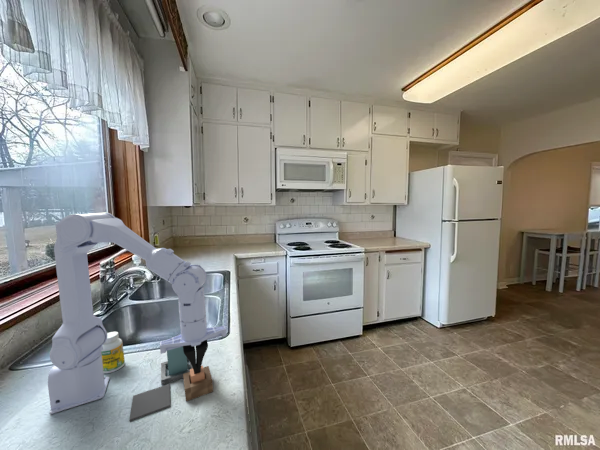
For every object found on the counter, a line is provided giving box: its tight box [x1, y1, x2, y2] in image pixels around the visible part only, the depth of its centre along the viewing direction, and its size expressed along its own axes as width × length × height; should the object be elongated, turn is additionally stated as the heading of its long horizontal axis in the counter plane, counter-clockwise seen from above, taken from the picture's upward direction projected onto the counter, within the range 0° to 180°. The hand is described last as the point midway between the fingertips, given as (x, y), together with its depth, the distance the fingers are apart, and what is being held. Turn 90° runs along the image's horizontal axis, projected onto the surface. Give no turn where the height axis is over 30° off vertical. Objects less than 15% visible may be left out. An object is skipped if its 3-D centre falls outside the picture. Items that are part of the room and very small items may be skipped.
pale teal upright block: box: [166, 346, 189, 376], centre depth 69 cm, size 4×4×8 cm
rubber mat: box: [128, 383, 171, 422], centre depth 58 cm, size 8×8×1 cm
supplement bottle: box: [101, 331, 126, 374], centre depth 71 cm, size 5×5×10 cm
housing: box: [182, 365, 214, 402], centre depth 62 cm, size 6×6×3 cm
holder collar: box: [160, 358, 193, 386], centre depth 69 cm, size 8×8×1 cm
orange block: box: [190, 365, 205, 384], centre depth 62 cm, size 3×3×4 cm
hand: (197, 371), depth 62 cm, fingers closed, pressing on orange block
